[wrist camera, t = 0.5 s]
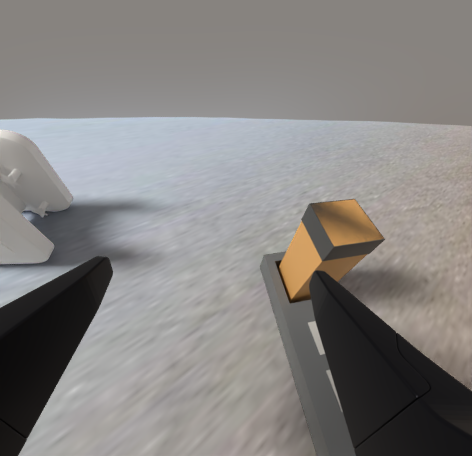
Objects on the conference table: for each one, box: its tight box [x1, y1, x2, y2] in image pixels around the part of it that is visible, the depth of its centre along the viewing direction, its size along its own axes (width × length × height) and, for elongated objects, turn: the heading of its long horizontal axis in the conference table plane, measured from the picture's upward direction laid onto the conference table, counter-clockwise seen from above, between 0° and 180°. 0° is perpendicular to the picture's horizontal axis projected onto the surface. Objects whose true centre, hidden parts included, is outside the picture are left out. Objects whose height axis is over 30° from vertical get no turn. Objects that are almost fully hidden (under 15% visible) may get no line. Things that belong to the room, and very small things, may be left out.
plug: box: [278, 199, 385, 304], centre depth 21 cm, size 4×4×13 cm
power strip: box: [260, 252, 356, 456], centre depth 20 cm, size 24×7×3 cm, turn 12°
